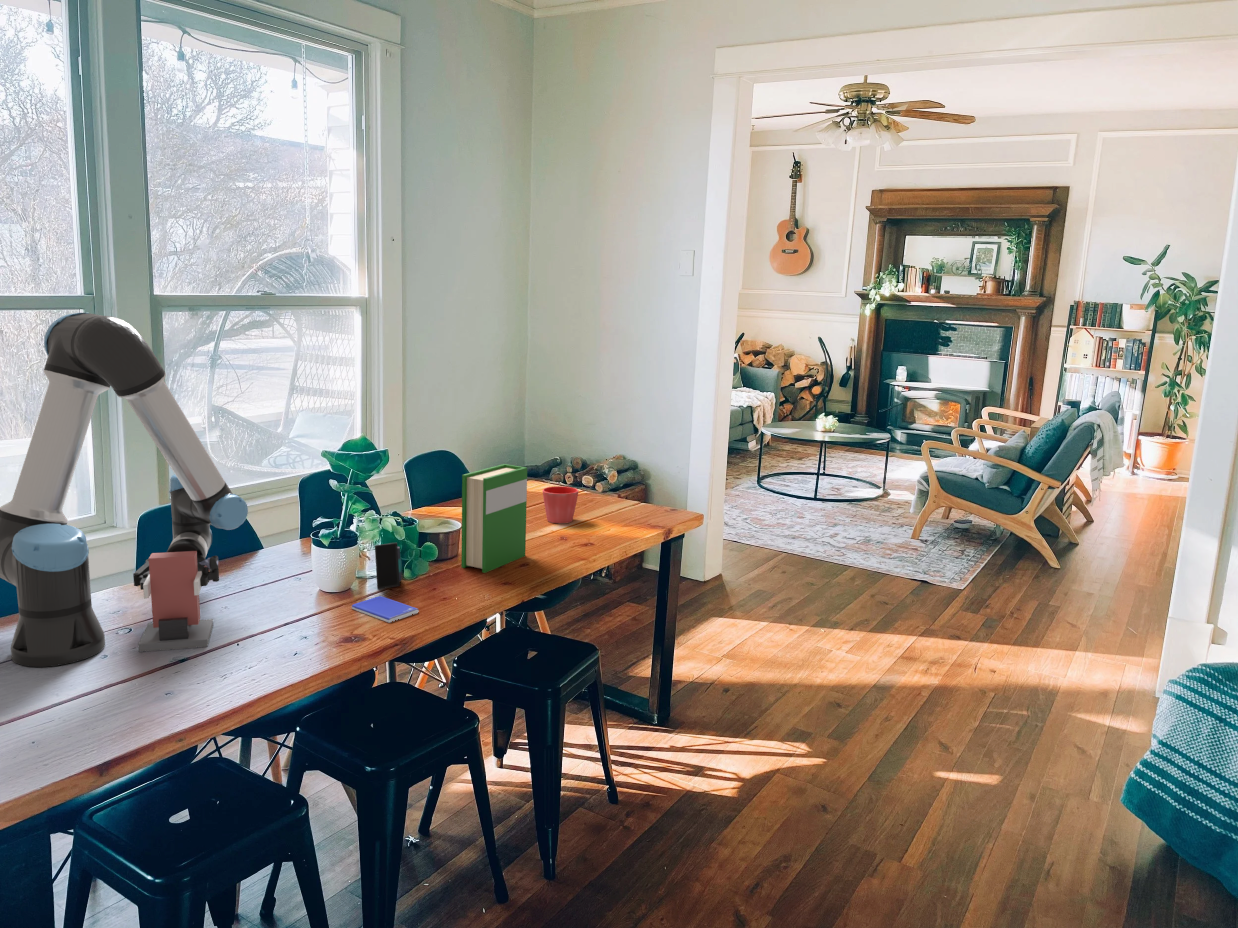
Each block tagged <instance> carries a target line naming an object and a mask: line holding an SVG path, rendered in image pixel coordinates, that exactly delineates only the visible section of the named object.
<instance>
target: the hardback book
mask: <svg viewBox="0 0 1238 928" xmlns="http://www.w3.org/2000/svg"><path fill="white" fill-rule="evenodd" d="M461 480H462V481H461V483H462V484H461V560H460V561H461V569H465V568H466V569H467V568H468V567H472V568H473V567H474V568H477V569H481V573H484V574H486V573H488V572H491V571H493V570H495V569H497V568H498V569H499V568H500V567H504V566H506V565H508V564H510V563H511V562H514V561H517V560H519V559H522V558H525V557H526V547H527V546H526V543H527V542H526V541H527V539H526V538H527V537H526V535H527V534H526V533H527V503H528V502H527V501H528V500H527V498H528V493H527V492H528V467H526V466H521V465H513V464H506V463H502V464H499V465H498V464H497V465H495V466H492V467H487V468H482V469H480V470H476V471H471V472H469V473H468V472H467V473H465V474H461Z"/></svg>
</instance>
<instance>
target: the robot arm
mask: <svg viewBox="0 0 1238 928" xmlns="http://www.w3.org/2000/svg"><path fill="white" fill-rule="evenodd" d="M43 344H44V351H45V353H46V356H47V358H46V362H45V364H44V369H43V373H44V375H45V376H46V378H47V380H48V385H47V389H46V393H45V395H44V399H43V401H42V405H41V409H40V411H39V414H38V418H37V421H36V422H35V423H36V424H35V427H34V429H33V430H34V431H33V433H32V437H31V439H30V443H29V446H28V449H27V452H26V454H25V455H26V456H25V458H24V461H23V463H22V464H23V465H22V468H21V470H20V475H19V477H18V481H17V483H16V485H15V489H14V492H13V496H12V498H11V500H10V501H9V502H6V503H5V504H3V505H1V506H0V579H2V580H5V581H6V582H7V583H9V584H11V585H13V586H15V587H16V594H17V595H16V596H17V597H16V598H17V604H18V616H19V617H18V620H17V624H16V628H15V630H14V634H13V637H12V641H11V645H10V656H11V660H12V661H13V662H14V663H15V664H17V665H20V666H23V667H32V668H33V667H34V668H37V667H38V668H40V667H41V668H45V667H55V666H61V665H68V664H71V663H75V662H79V661H83V660H86V659H88V658H91V657H92V656H95V655H97V654H98V653H100V652H101V651H102V650H103V649H104V648H105V647H106V639H105V636H106V635H105V632H104V630H103V628H102V625H101V624H100V622H99V619H98V617H97V615H96V613H95V611H94V609H93V606H92V605H93V604H92V591H91V590H92V589H91V576H90V561H89V560H90V559H89V554H90V552H89V551H90V550H89V548H90V547H89V546H88V545H89V544H88V542H87V537H86V535H85V533H84V531H82V530H81V529H79V528H78V527H77V526H76V527H75V526H73V525H71V524H70V525H69V524H68V522H69V520H68V519H67V518H66V516H65V514H64V512H63V509H64V505H65V502H66V498H67V496H68V493H69V489H70V487H71V483H72V479H73V477H74V474H75V470H76V467H77V464H78V460H79V457H80V454H81V451H82V447H83V445H84V441H85V438H86V435H87V432H88V429H89V425H90V422H91V419H92V416H93V412H94V410H95V406H96V404H97V401H98V397H99V395H101V394H103V393H104V392H106V391H109V390H110V387H111V389H112V390H113V391H114V393H115V395H116V396H117V397H119V398H122V399H126V401H127V402H128V404H129V405H130V407H131V408H132V410H133V412H134V413H135V415H136V416H137V418H138V420H139V421H140V423H141V424H142V425H143V427H144V429H145V430H146V432H147V434H149V437H150V438H151V439H152V441H153V443H154V444H155V446H156V447H157V449H158V450H159V452H160V453H161V455H162V456H163V458H164V459H165V461H166V462H167V464H168V466H169V467H170V469H171V471H172V472H173V475H171V476H170V478H169V480H170V482H169V486H170V487H169V492H168V493H169V495H170V498H169V499H170V508H171V509H170V511H171V518H172V519H171V522H172V523H171V524H172V527H171V528H172V541H171V543H170V545H169V546H168V549H167V550H166V552H185V551H197V566H198V572H197V575H196V577H195V580H194V595H199V596H200V592H201V589H202V587H206V586H208V585H209V583H210V581H212V582H215V583H217V582H219V581H220V571H219V556H218V555H213V556H211V557H208V558H207V559H206V557H207V554H208V552H209V550H210V548H211V545H212V543H213V533H212V530H211V527H210V526H212V527H214V528H216V529H223V530H226V531H230V530H231V531H232V530H235V529H237V528H239V527H240V526H241V525H243V524H244V522H246V519H247V517H248V514H249V508H248V503H247V502H246V501H245V499H244V498H242V497H241V496H239V495H238V494H236V493H233V492H232V491H231V488H230V487H229V486H228V484H227V483H226V480H225V479H224V478H223V476H222V474H221V472H220V471H219V469H218V467H217V466H216V465H215V463H214V461H213V460H212V458H211V456H210V454H209V453H208V451H207V450H206V448H205V446H204V444H203V443H202V442H201V440H200V438H199V436H198V435H197V433H196V431H195V429H194V428H193V427H192V425H191V423H190V421H189V420H188V418H187V417H186V415H185V413H184V412H183V410H182V408H181V406H180V405H179V403H178V402H177V400H176V398H175V396H174V395H173V394H172V392H171V389H169V387H168V385H167V384H166V382H165V378H166V375H167V374H166V371H165V369H164V368H163V366H162V365H161V363H160V361H159V359H158V358H157V356H156V355H155V352H153V349H152V348H151V346H150V345H149V344H148V343H147V341H146V340H145V338H144V337H143V336H142V335H141V334H140V332H139V331H138V330H137V329H136V328H135V327H134V326H132V324H130V323H129V322H127V321H125V320H124V319H122V318H119V317H116V316H110V315H101V314H95V313H90V312H75V313H74V312H73V313H69V314H65V315H63V316H61V317H58V318H57V319H55V320H54V321H53V322H52V323H51V324H50V325H49V326H48V328H47V329H46V331H45V334H44V339H43ZM132 575H133V586H134V587H139V588H140V590H143V599H150V597H151V585H150V572H149V558H148V559H146V560H145V562H144V564H143V565H142V566H140V567H139V568H138V569H137V570H136V571H134V572H133V573H132Z"/></svg>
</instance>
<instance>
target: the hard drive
mask: <svg viewBox="0 0 1238 928" xmlns="http://www.w3.org/2000/svg"><path fill="white" fill-rule="evenodd" d="M351 609H352V610H354V611H357V612H360V613H361V614H365V615H368V616H371V617H373V618H375V619H378V620H381V621H384V622H386V623H393V622H395V620H396V621H399V620H401V619H404V618H407V617H411V616H413V615H417V614H418V612H419V608H417V607H414V606H410V605H408V604H406V603H404V602H403V603H402V602H399V601H396V600H394V599H390V598H388V597H385V596H382V595H379V596H375V597H373V598H372V597H371V598H369V599H366V600H361V601H359V602H356V603H353V604H352V605H351ZM412 614H413V615H412ZM398 619H399V620H398ZM392 621H393V622H392Z"/></svg>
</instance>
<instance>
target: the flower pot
mask: <svg viewBox="0 0 1238 928" xmlns="http://www.w3.org/2000/svg"><path fill="white" fill-rule="evenodd" d="M579 492H580V491H579V489H578V488H576V487H570V486H560V485H558V486H556V485H555V486H554V485H553V486H547V487H545V488H542V497H543V505H544V510H545V515H546V520H547V522H548V523H552V524H569V523H572V522H573V520H574V516H575V512H576V511H575V510H576V506H577V502H578V497H579Z"/></svg>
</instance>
